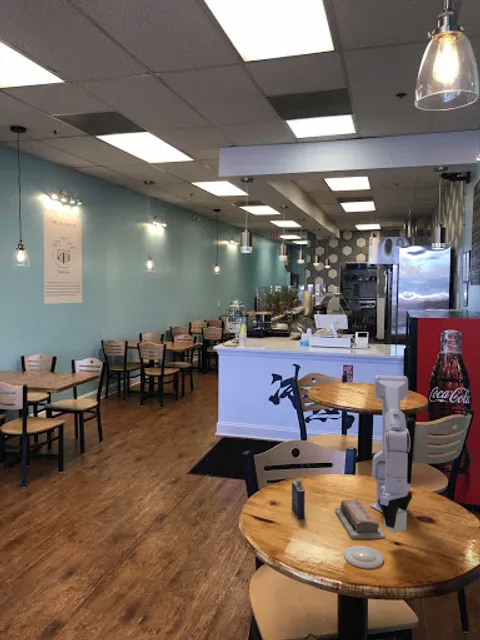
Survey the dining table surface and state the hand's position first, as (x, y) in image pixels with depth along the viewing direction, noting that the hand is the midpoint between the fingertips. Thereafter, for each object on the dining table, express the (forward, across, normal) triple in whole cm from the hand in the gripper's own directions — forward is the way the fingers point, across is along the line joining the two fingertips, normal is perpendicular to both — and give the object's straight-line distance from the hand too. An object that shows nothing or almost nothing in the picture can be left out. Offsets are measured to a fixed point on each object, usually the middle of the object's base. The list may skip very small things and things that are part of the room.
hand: (394, 522), depth 134 cm
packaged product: (+7, -5, -14) cm, 16 cm away
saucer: (+6, +12, -3) cm, 14 cm away
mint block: (+2, 0, 0) cm, 2 cm away
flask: (+7, +2, -31) cm, 32 cm away
